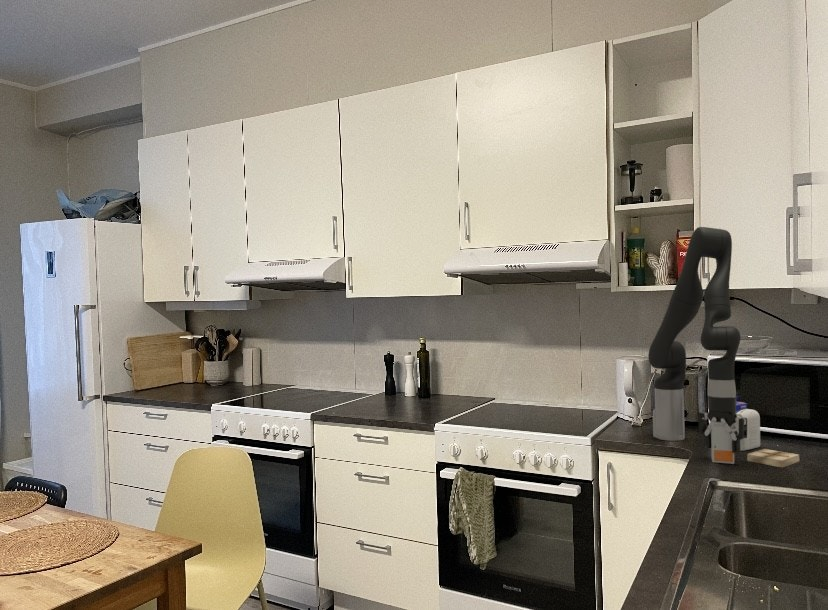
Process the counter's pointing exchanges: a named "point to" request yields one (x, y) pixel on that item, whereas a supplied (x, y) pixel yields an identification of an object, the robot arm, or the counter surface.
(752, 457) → the trivet
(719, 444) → the skincare box
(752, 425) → the white rounded block
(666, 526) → the counter surface
